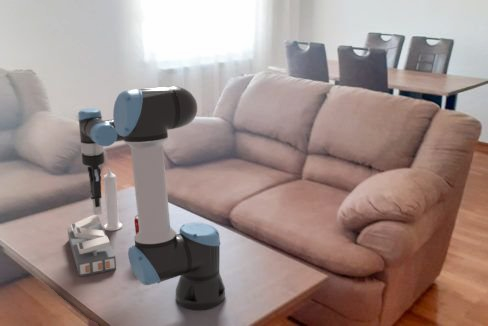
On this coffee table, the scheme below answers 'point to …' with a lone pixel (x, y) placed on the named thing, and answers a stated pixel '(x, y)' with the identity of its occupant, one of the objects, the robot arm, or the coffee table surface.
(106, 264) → the console
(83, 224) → the rocker far
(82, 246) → the rocker near
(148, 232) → the robot arm
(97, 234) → the rocker mid
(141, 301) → the coffee table surface
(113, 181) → the candle
